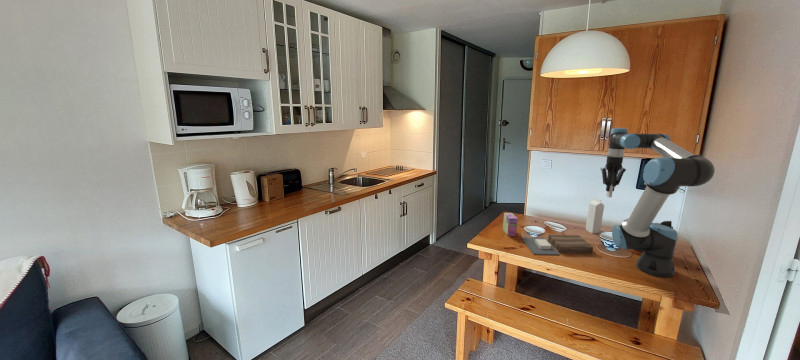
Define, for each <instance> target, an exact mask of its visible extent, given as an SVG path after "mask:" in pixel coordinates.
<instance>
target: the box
mask: <svg viewBox="0 0 800 360" xmlns="http://www.w3.org/2000/svg"><path fill="white" fill-rule="evenodd" d="M518 219H519V218H518V217H517V216H516V215H515V214H514V213H513V212H504V213H503V222H502V230H503V232H504V233H505V234H506V236H509V237H510V236H511V237H514V236H515V237H516V236H517V229H518V222H519V221H518Z"/></svg>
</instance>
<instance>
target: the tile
mask: <svg viewBox="0 0 800 360" xmlns="http://www.w3.org/2000/svg"><path fill="white" fill-rule="evenodd" d="M547 241H548V240H547V239H546V238H545V239H535V243H536V244H537V245H538V247H539V248H540V249H551V245H550V244H549V243H550V242H549V241H548V242H549V243H548V242H547Z"/></svg>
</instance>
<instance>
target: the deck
mask: <svg viewBox="0 0 800 360" xmlns="http://www.w3.org/2000/svg"><path fill="white" fill-rule="evenodd" d="M547 239H548V240H547V241H548V242H549V243H550V244H551V245H552V246H553V248H554V249H555V250H556V251H557V252H558V253H559V254H561V253H562V254H588V255H589V254H593V250H594V246H593V245H591V243H590V242H588V241H587V240H586V239H584V238H583V237H582V236H581V235H579V234H578V235H572V234H570V235H569V234H566V235H565V234H548V238H547Z"/></svg>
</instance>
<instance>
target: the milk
mask: <svg viewBox="0 0 800 360" xmlns="http://www.w3.org/2000/svg"><path fill="white" fill-rule="evenodd" d="M604 210H605V204H603V203H602V199H598V198H596V197H594V198H593V200H592V201H590V202H589V204H588V209H587V216H586V225H585V231H587V232H589V233H590V234H601V228H602V222H603V216H604Z"/></svg>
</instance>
